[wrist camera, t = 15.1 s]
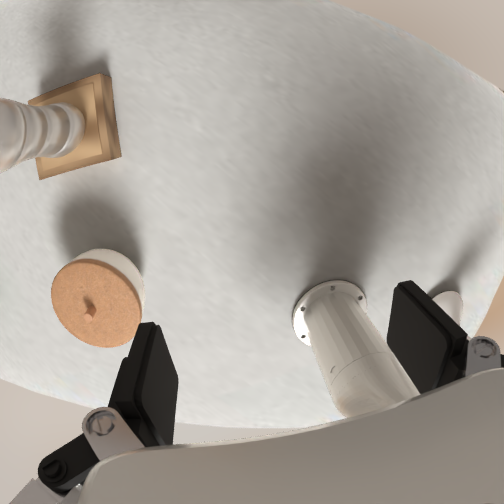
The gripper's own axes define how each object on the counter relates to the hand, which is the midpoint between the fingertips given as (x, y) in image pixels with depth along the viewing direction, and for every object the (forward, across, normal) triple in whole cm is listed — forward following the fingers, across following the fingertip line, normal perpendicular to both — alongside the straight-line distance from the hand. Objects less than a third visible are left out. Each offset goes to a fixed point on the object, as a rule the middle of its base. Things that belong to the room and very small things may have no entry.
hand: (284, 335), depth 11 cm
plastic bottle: (+26, +20, -12) cm, 35 cm away
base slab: (+30, +20, -12) cm, 38 cm away
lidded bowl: (+31, +20, +10) cm, 38 cm away
